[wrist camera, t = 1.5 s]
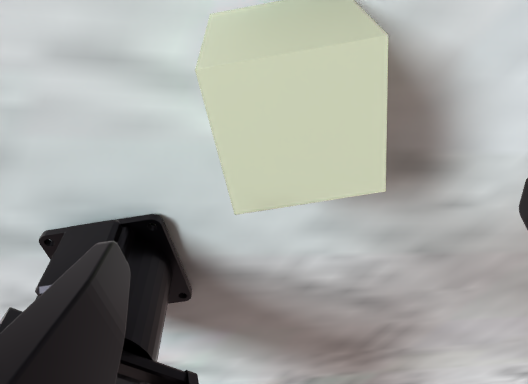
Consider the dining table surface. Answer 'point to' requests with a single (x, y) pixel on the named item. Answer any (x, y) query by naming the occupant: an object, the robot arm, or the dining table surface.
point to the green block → (296, 101)
